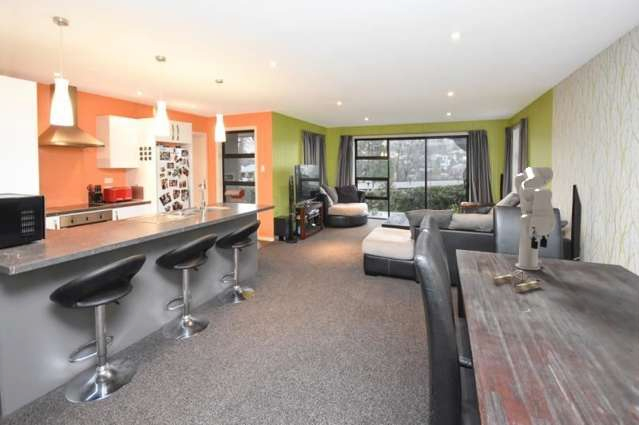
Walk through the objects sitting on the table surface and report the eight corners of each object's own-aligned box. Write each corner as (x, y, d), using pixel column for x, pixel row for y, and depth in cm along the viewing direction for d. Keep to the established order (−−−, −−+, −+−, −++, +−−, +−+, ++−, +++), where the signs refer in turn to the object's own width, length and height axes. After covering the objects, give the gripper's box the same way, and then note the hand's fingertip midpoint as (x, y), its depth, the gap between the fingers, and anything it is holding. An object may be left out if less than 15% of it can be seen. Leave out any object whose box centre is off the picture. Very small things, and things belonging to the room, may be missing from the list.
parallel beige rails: (513, 279, 181) (513, 272, 180) (540, 287, 168) (540, 279, 168) (492, 283, 174) (492, 276, 174) (518, 292, 161) (519, 284, 161)
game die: (519, 290, 174) (527, 274, 175) (527, 290, 166) (536, 272, 167) (502, 281, 176) (511, 264, 177) (509, 280, 168) (519, 263, 169)
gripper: (544, 211, 180) (542, 244, 182) (522, 213, 173) (520, 248, 175) (559, 213, 174) (556, 247, 176) (537, 215, 166) (535, 251, 169)
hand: (538, 247), depth 176 cm, fingers open, 6 cm apart
